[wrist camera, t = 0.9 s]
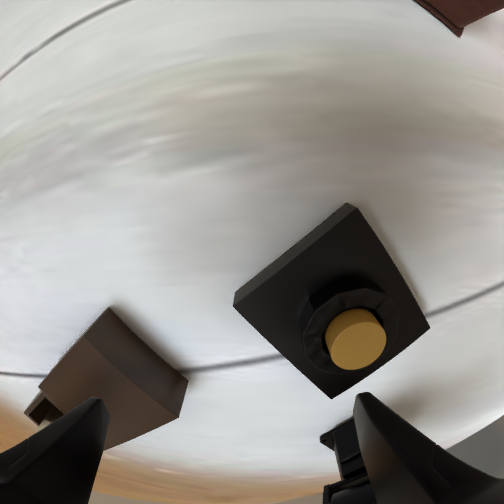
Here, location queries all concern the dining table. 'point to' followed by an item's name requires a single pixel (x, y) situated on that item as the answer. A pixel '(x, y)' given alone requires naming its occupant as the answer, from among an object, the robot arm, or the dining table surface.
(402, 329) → the yellow push button box
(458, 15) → the desk organizer
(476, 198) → the dining table surface
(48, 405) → the stepped brown tray
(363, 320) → the button
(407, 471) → the robot arm
